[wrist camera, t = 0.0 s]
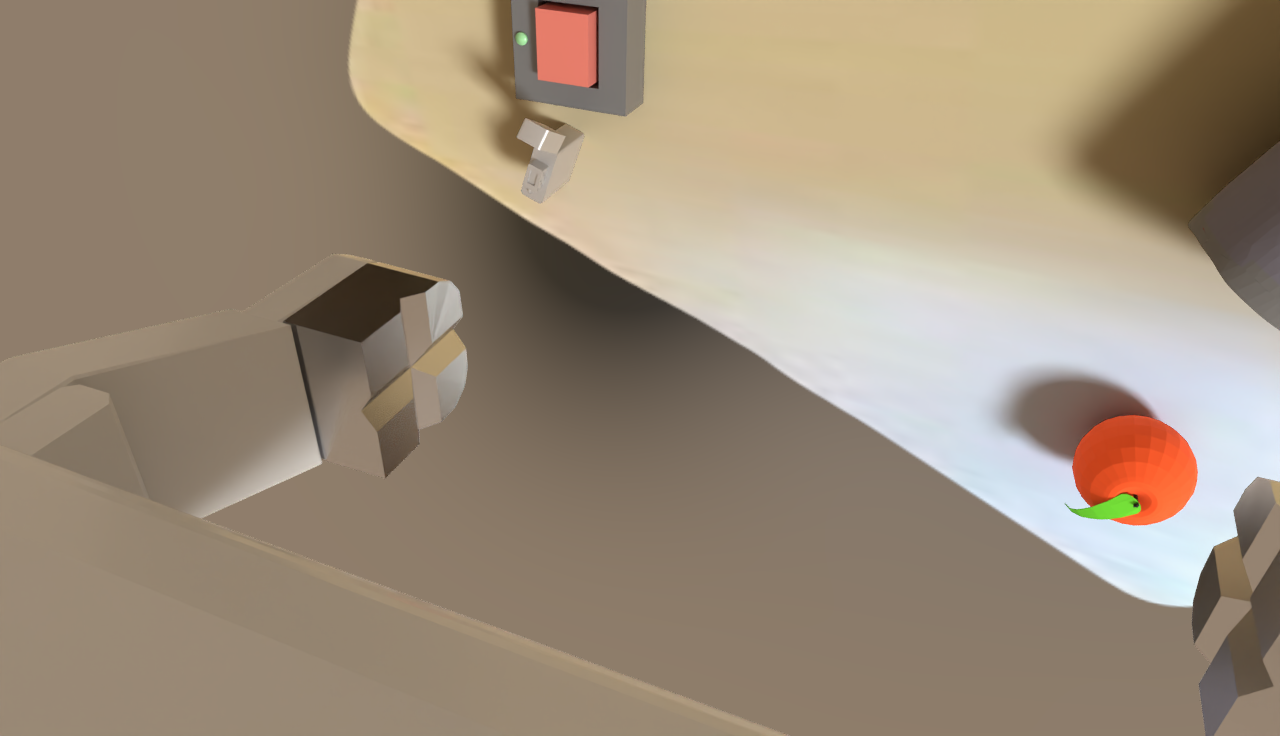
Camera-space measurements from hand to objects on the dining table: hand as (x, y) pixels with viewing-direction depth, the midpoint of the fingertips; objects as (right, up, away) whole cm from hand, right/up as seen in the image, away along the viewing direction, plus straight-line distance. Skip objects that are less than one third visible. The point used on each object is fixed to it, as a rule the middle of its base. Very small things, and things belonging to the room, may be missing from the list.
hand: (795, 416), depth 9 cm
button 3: (-5, +22, +49) cm, 54 cm away
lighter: (-6, +17, +55) cm, 57 cm away
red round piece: (+31, -4, +51) cm, 59 cm away
